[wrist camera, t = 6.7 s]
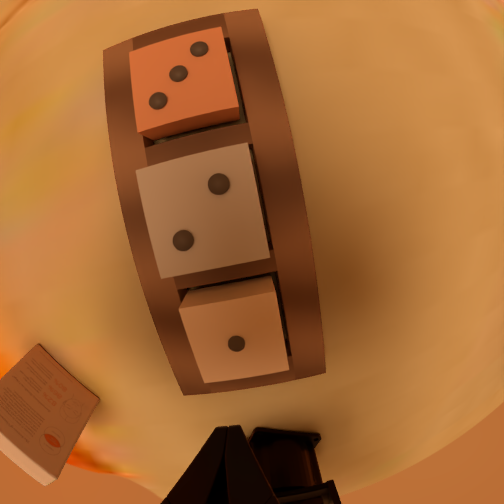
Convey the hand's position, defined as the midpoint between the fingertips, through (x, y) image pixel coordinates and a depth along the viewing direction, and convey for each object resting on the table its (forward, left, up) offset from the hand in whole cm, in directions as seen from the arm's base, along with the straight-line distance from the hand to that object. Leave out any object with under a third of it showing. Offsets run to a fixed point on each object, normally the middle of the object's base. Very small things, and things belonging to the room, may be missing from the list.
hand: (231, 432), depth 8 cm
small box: (+14, +14, -11) cm, 23 cm away
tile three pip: (+6, -12, -9) cm, 17 cm away
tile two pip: (+3, -6, -8) cm, 11 cm away
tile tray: (+3, -6, -10) cm, 12 cm away
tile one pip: (0, 0, -9) cm, 9 cm away
